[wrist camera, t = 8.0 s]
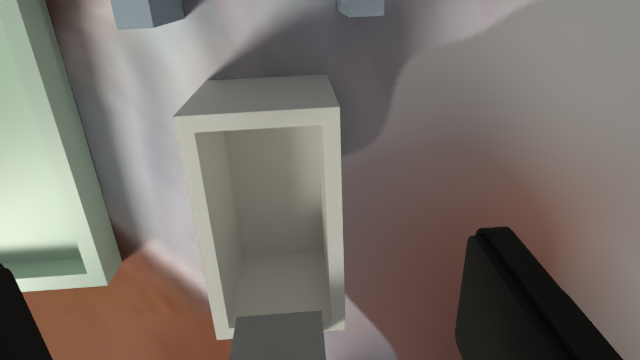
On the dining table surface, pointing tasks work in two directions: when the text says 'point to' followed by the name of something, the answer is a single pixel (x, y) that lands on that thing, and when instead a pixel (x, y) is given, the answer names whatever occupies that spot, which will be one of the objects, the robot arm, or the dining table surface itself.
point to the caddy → (267, 211)
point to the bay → (166, 6)
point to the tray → (46, 164)
